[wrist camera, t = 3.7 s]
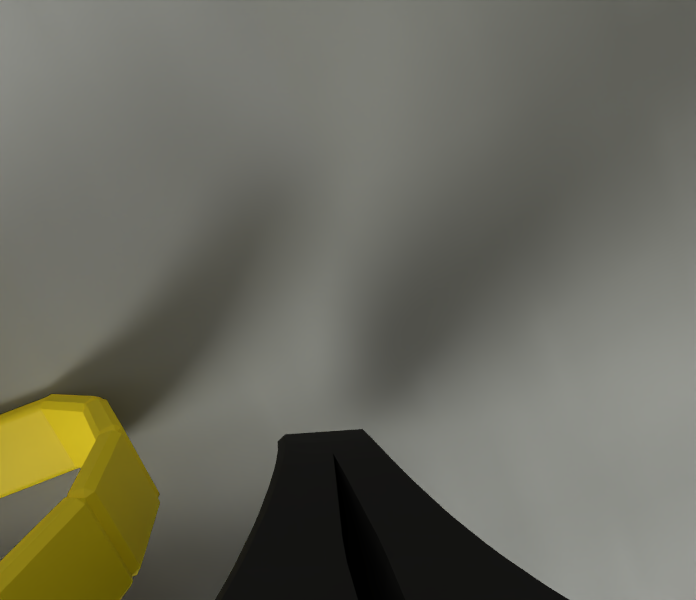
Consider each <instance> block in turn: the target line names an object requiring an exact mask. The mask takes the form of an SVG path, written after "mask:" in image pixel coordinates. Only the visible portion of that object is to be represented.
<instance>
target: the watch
mask: <svg viewBox="0 0 696 600" xmlns="http://www.w3.org/2000/svg"><path fill="white" fill-rule="evenodd" d="M77 468H81V470H80V471H79V473H78V475H77V477H76V479H75V481H74V483H73V485H72V487H71V489H70V490H69V492H68V495H67V497H66V498H64V499H63V500H62V501H61V502H60V503H59V504H58V505H57V506H56V507H54V508H53V509H52V510H51V511H50V512H49V513H48V514H47V515H46V516H45V517H44V518H43V519H42V520H41V521H40V522H39V523H38V524H37V525H36V526H35V527H34V528H33V529H32V530H31V531H30V532H29V533H28V534H27V535H26V536H25V537H24V538H23V539H22V540H21V541H20V542H19V543H18V544H17V545H16V546H15V547H14V548H13V549H12V550H11V551H10V552H9V553H8V554H7V555H6V556H5V557H4V558H3V559H2V560H1V561H0V600H121V599H122V597H123V596H124V595H125V593H126V592H127V591H128V589H129V588H130V587H131V585H132V582H133V578H132V576H135V575H137V574H138V572H139V570H140V568H141V564H142V561H143V558H144V554H145V551H146V548H147V544H148V541H149V538H150V534H151V531H152V528H153V524H154V521H155V518H156V514H157V511H158V508H159V505H160V501H159V499H158V497H159V495H160V494H159V492H158V490H157V488H156V486H155V485H154V483H153V481H152V479H151V477H150V476H149V474H148V472H147V470H146V468H145V467H144V465H143V463H142V461H141V459H140V458H139V456H138V454H137V452H136V450H135V449H134V447H133V445H132V443H131V441H130V440H129V438H128V436H127V434H126V432H125V431H124V429H123V427H122V425H121V423H120V422H119V420H118V418H117V417H116V415H115V413H114V412H113V410H112V408H111V407H110V405H109V403H108V401H107V400H105V399H102V398H101V397H96V396H83V395H63V394H51V395H49V396H48V397H45V398H43V399H40V400H37V401H35V402H32V403H29V404H27V405H24V406H21V407H19V408H16V409H14V410H11V411H8V412H6V413H3V414H0V498H2V497H5V496H7V495H10V494H13V493H15V492H18V491H20V490H23V489H25V488H28V487H31V486H33V485H36V484H38V483H41V482H44V481H46V480H49V479H51V478H54V477H57V476H59V475H62V474H64V473H67V472H70V471H72V470H75V469H77Z"/></svg>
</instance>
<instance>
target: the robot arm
mask: <svg viewBox="0 0 696 600" xmlns="http://www.w3.org/2000/svg"><path fill="white" fill-rule="evenodd" d="M215 600H569V599H567V598H565V597H564V596H562V595H561V594H559V593H557V592H556V591H554V590H552V589H551V588H549V587H548V586H546V585H545V584H543V583H542V582H540V581H539V580H537V579H536V578H534V577H533V576H531V575H530V574H528V573H527V572H525V571H524V570H523V569H521V568H520V567H518V566H517V565H515V564H514V563H512V562H511V561H509V560H508V559H506V558H505V557H504V556H502V555H501V554H499V553H498V552H497V551H495V550H494V549H493V548H491V547H490V546H489V545H487V544H486V543H485V542H483V541H482V540H481V539H480V538H478V537H477V536H476V535H475V534H473V533H472V532H471V531H470V530H468V529H467V528H466V527H465V526H464V525H462V524H461V523H460V522H459V521H457V520H456V519H455V518H454V517H452V516H451V515H450V514H449V513H448V512H447V511H445V510H444V509H443V508H442V507H441V506H440V505H439V504H438V503H437V502H436V501H435V500H433V499H432V498H431V497H430V496H429V495H428V494H427V493H426V492H425V491H424V490H423V489H422V488H420V487H419V486H418V485H417V484H416V483H415V482H414V481H413V480H412V479H411V478H410V477H409V476H408V475H407V474H406V473H405V472H404V471H403V470H402V469H401V468H400V467H399V466H398V465H397V464H396V463H395V462H394V461H393V460H392V459H391V458H390V457H389V456H388V455H387V454H386V453H385V452H384V451H383V449H382V448H381V447H380V446H379V445H378V444H377V443H376V442H375V441H374V440H373V439H372V438H371V437H370V436H369V435H368V434H367V433H366V432H365V431H364V430H363V429H358V430H344V431H329V432H315V433H300V434H285V435H284V436H283V437H282V438H281V439H280V440H279V441H278V454H277V460H276V465H275V469H274V472H273V475H272V479H271V482H270V485H269V488H268V491H267V493H266V496H265V499H264V501H263V504H262V507H261V509H260V512H259V515H258V517H257V519H256V522H255V524H254V526H253V528H252V530H251V532H250V535H249V537H248V539H247V541H246V543H245V545H244V547H243V549H242V551H241V553H240V555H239V557H238V560H237V562H236V564H235V565H234V567H233V569H232V571H231V573H230V575H229V576H228V578H227V580H226V582H225V584H224V585H223V587H222V589H221V591H220V592H219V594H218V596H217V597H216V599H215Z"/></svg>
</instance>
